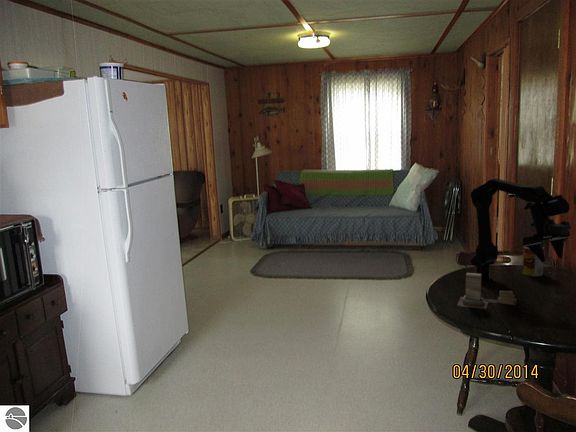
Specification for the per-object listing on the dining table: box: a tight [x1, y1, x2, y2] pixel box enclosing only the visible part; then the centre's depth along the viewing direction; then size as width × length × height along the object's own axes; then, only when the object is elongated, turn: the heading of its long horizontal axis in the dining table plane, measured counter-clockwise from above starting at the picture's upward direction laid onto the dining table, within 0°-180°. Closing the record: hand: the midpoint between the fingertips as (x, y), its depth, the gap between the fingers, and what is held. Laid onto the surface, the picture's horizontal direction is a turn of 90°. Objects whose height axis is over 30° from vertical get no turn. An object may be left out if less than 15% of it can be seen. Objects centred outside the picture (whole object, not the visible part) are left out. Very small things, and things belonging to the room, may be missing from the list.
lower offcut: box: [498, 294, 514, 305], centre depth 174 cm, size 6×5×2 cm
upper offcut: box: [498, 290, 515, 300], centre depth 174 cm, size 5×4×2 cm
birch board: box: [465, 272, 482, 301], centre depth 173 cm, size 3×5×11 cm, turn 62°
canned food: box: [522, 244, 545, 277], centre depth 204 cm, size 8×8×12 cm
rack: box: [456, 294, 517, 310], centre depth 174 cm, size 14×19×3 cm
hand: (552, 260), depth 171 cm, fingers open, 9 cm apart
